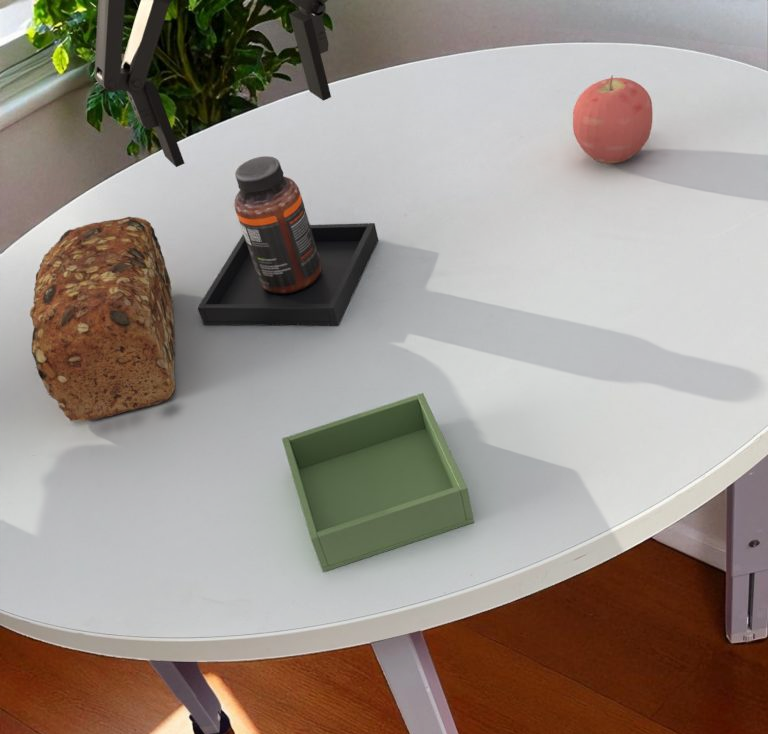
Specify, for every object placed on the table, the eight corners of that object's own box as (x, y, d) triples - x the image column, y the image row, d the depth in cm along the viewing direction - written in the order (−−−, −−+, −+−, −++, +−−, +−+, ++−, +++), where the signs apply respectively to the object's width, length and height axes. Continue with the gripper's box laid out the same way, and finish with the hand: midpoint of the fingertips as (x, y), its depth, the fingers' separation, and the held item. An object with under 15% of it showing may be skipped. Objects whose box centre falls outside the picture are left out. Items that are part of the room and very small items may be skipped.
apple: (581, 140, 107) (576, 61, 101) (657, 136, 105) (655, 55, 99) (570, 179, 102) (563, 99, 97) (649, 176, 100) (647, 93, 94)
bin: (322, 572, 74) (310, 539, 71) (293, 471, 81) (281, 438, 79) (474, 522, 74) (467, 488, 72) (430, 426, 82) (422, 392, 79)
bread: (183, 402, 90) (141, 305, 83) (62, 433, 90) (9, 339, 83) (180, 283, 103) (143, 191, 96) (74, 311, 104) (30, 221, 97)
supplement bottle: (324, 255, 101) (293, 143, 93) (321, 291, 97) (289, 178, 89) (263, 265, 102) (227, 156, 94) (258, 302, 98) (220, 190, 90)
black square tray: (203, 325, 98) (197, 308, 96) (252, 243, 106) (247, 226, 105) (338, 325, 93) (333, 308, 92) (378, 240, 102) (374, 222, 100)
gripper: (1, -90, 68) (125, 205, 83) (339, -219, 73) (399, 80, 88) (-25, -109, 73) (97, 172, 88) (293, -228, 78) (357, 56, 93)
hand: (248, 127), depth 88 cm, fingers open, 13 cm apart
